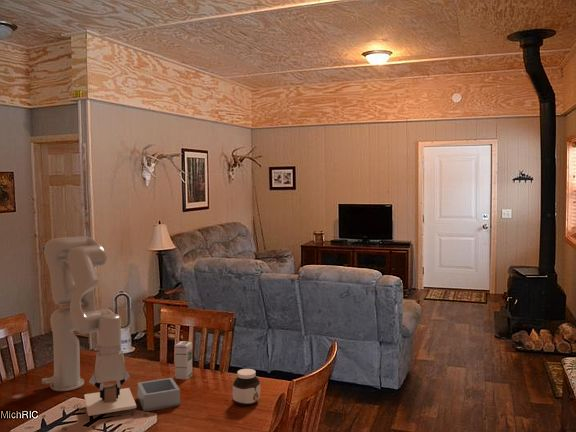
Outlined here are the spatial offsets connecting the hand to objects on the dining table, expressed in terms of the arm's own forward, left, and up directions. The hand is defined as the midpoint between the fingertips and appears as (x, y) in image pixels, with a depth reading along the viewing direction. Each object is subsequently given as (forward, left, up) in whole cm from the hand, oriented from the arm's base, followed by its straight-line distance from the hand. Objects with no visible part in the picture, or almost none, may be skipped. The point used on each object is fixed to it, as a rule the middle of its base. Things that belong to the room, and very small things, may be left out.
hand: (109, 397), depth 190 cm
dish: (+17, -1, -4) cm, 18 cm away
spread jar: (+47, -13, -5) cm, 49 cm away
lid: (0, 0, -2) cm, 2 cm away
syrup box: (+32, +20, -4) cm, 38 cm away
